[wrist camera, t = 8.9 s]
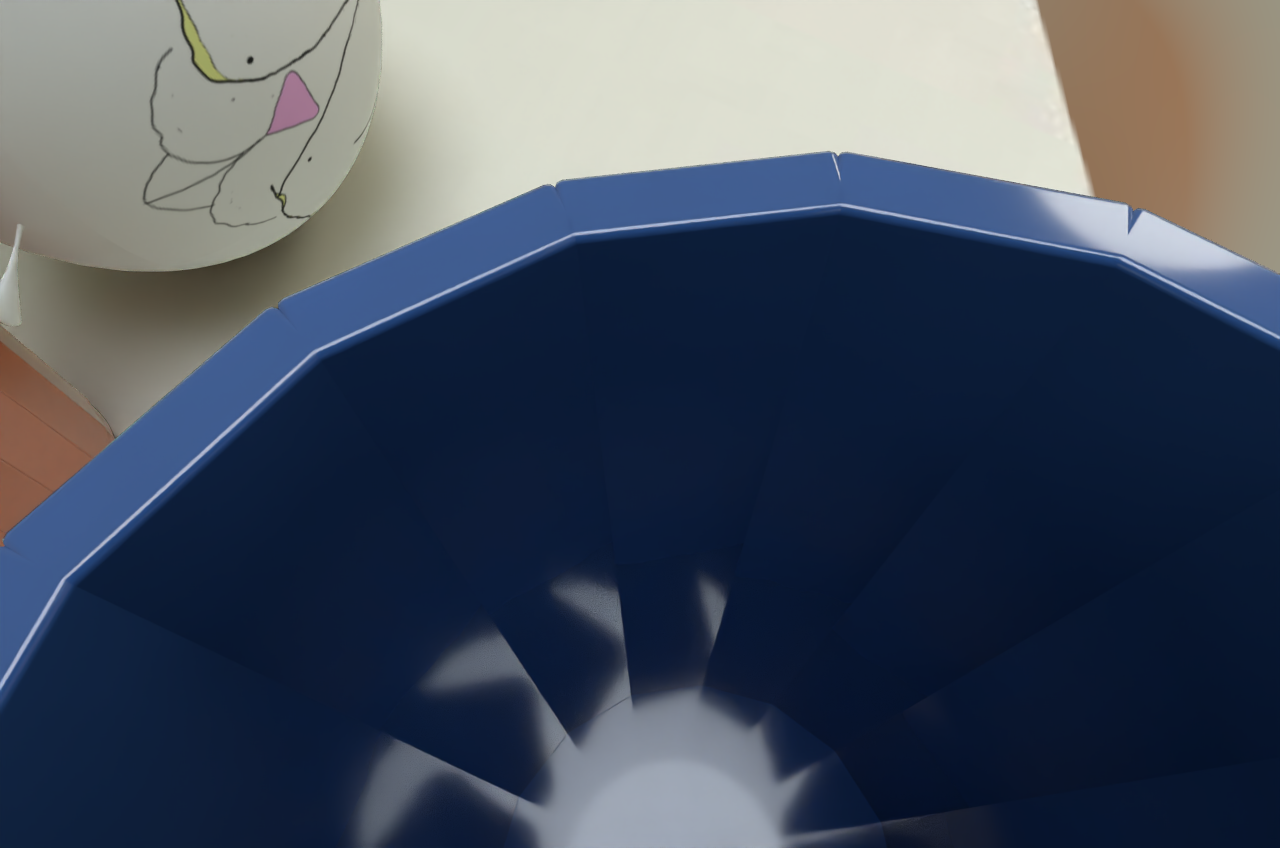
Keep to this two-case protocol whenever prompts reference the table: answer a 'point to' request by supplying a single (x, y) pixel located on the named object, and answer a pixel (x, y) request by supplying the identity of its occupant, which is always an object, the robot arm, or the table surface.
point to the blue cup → (685, 539)
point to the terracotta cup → (40, 431)
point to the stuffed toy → (175, 126)
